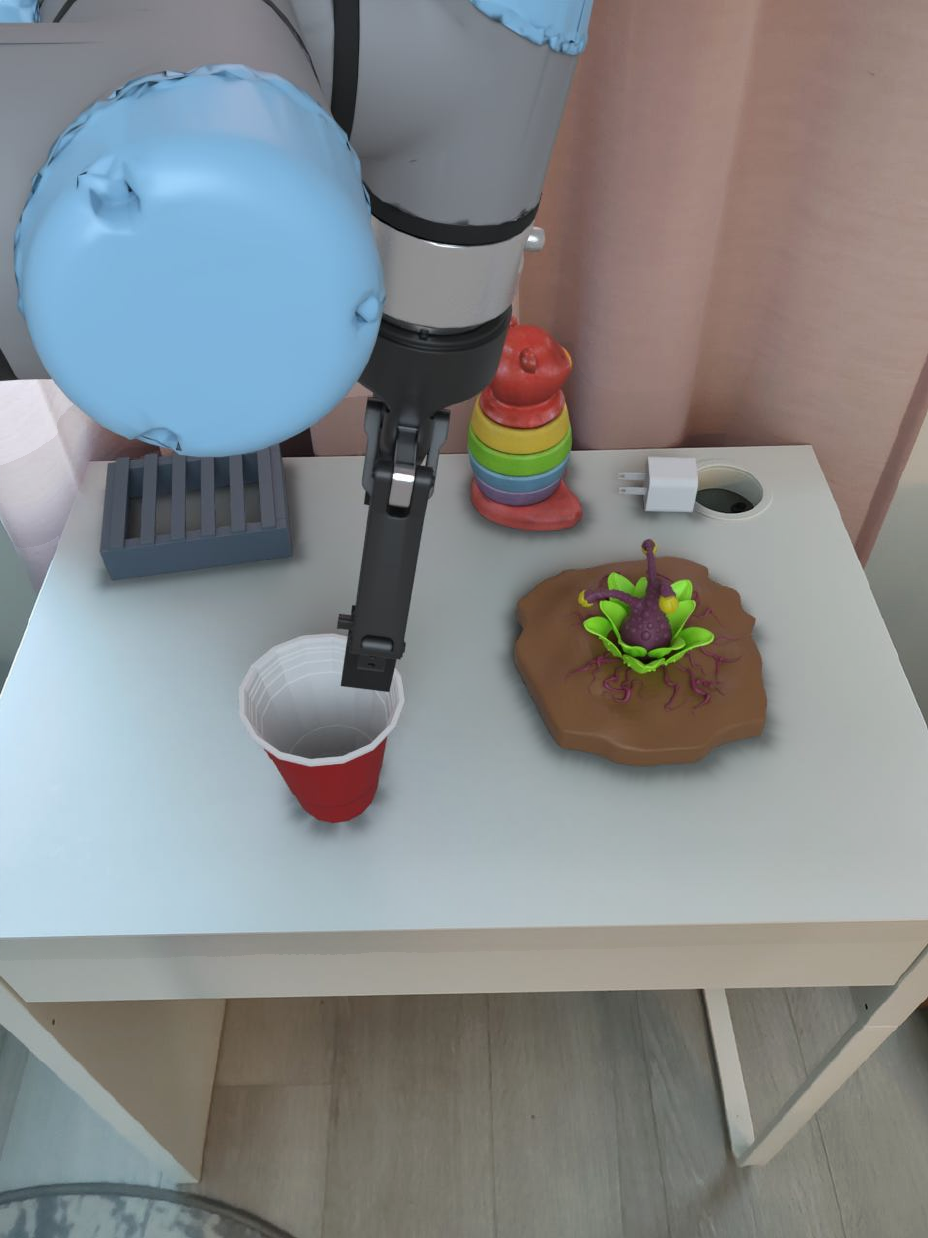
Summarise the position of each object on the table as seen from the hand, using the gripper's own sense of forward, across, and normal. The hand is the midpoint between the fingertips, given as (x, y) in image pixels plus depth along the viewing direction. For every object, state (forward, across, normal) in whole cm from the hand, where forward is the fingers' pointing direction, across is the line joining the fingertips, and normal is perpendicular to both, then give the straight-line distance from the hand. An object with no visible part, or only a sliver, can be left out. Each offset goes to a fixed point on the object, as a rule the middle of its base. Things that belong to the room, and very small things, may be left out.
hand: (376, 587), depth 59 cm
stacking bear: (+21, +30, -14) cm, 39 cm away
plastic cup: (+21, -3, 0) cm, 21 cm away
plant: (+17, +9, -23) cm, 30 cm away
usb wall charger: (+18, +29, -26) cm, 43 cm away
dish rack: (+26, +25, +16) cm, 39 cm away
